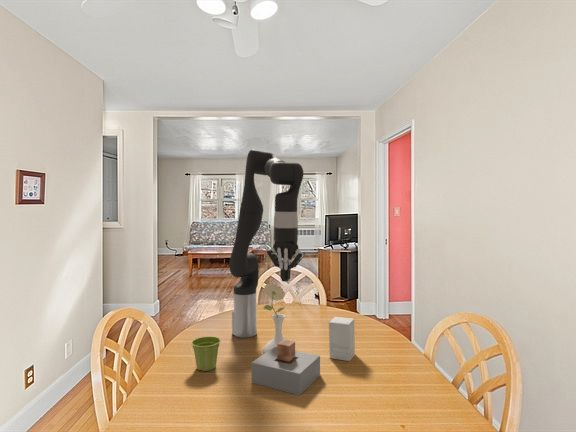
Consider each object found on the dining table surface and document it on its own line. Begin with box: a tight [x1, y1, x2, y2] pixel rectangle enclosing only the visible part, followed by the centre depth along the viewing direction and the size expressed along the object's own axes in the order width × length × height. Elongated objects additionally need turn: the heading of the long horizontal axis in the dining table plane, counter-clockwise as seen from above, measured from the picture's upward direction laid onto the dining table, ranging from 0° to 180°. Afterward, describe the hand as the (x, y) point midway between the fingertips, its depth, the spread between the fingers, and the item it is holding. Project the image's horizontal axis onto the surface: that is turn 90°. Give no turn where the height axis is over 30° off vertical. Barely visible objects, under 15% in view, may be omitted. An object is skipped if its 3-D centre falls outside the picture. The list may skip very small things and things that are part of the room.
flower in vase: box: [262, 282, 286, 355], centre depth 129 cm, size 13×11×25 cm
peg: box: [277, 339, 296, 364], centre depth 110 cm, size 4×4×10 cm
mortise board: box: [250, 347, 321, 396], centre depth 110 cm, size 16×14×6 cm
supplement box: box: [328, 316, 356, 362], centre depth 127 cm, size 7×7×13 cm
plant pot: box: [190, 335, 222, 372], centre depth 119 cm, size 9×9×9 cm
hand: (285, 281), depth 115 cm, fingers closed
